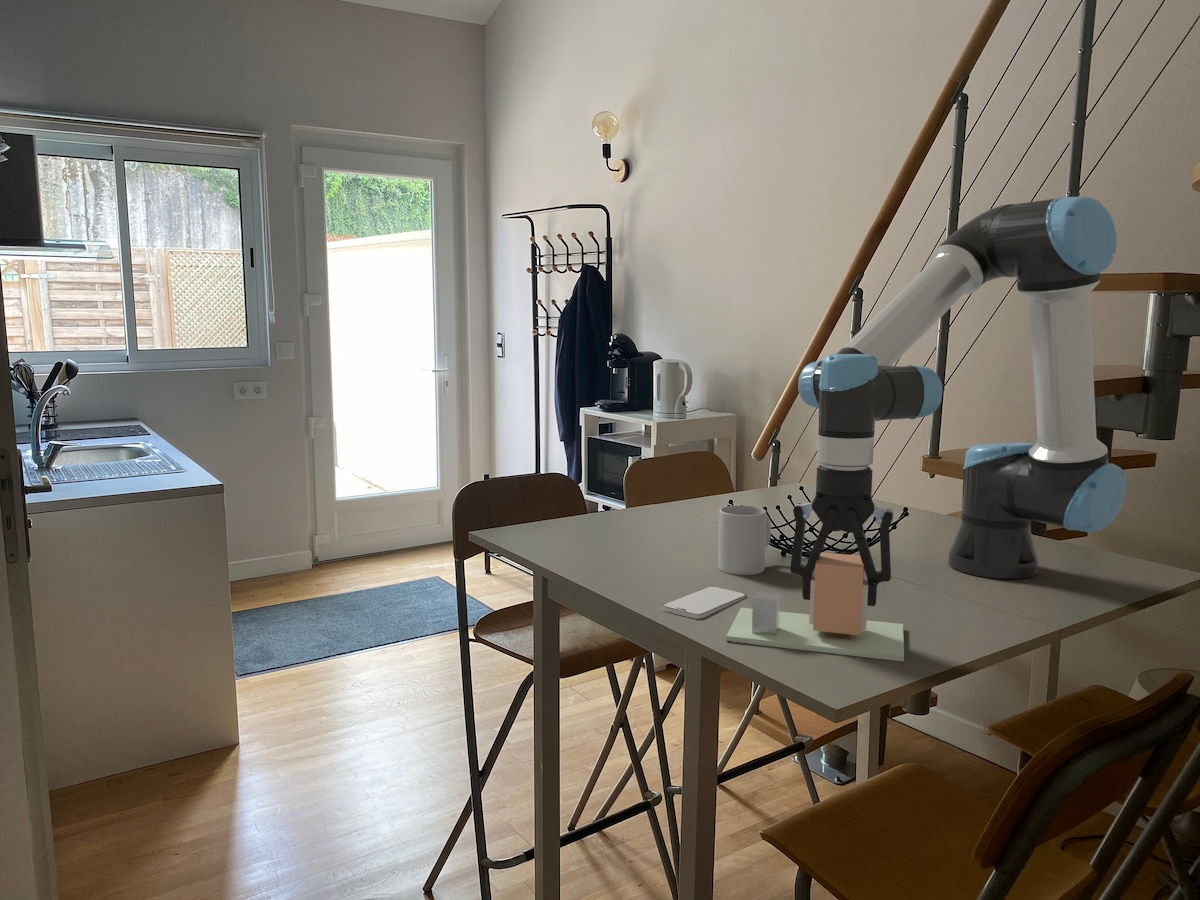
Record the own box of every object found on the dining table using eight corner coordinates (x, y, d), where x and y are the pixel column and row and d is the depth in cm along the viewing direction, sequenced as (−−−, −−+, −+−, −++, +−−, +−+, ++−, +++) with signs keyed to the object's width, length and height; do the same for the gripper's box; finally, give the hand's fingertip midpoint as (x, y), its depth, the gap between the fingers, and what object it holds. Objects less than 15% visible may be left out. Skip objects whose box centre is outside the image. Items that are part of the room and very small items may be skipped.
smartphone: (748, 594, 146) (699, 615, 134) (748, 600, 146) (698, 622, 135) (710, 585, 151) (659, 605, 139) (710, 592, 151) (659, 612, 139)
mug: (744, 578, 156) (745, 517, 154) (708, 568, 162) (709, 509, 161) (786, 565, 164) (788, 508, 162) (750, 556, 170) (751, 500, 168)
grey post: (778, 632, 129) (779, 593, 128) (775, 641, 126) (776, 600, 125) (755, 630, 130) (756, 591, 129) (751, 638, 127) (752, 598, 126)
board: (902, 629, 131) (903, 624, 130) (903, 661, 118) (904, 655, 118) (740, 612, 138) (740, 607, 138) (726, 641, 126) (726, 635, 126)
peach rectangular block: (861, 620, 128) (864, 556, 127) (860, 635, 122) (863, 567, 121) (816, 615, 130) (819, 552, 129) (813, 630, 124) (815, 563, 123)
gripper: (917, 464, 123) (908, 622, 127) (777, 457, 129) (773, 608, 133) (918, 473, 116) (909, 640, 120) (771, 466, 122) (766, 625, 126)
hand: (837, 623), depth 126 cm, fingers closed on peach rectangular block, 6 cm apart
